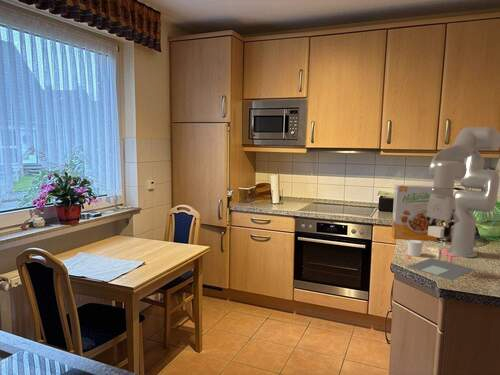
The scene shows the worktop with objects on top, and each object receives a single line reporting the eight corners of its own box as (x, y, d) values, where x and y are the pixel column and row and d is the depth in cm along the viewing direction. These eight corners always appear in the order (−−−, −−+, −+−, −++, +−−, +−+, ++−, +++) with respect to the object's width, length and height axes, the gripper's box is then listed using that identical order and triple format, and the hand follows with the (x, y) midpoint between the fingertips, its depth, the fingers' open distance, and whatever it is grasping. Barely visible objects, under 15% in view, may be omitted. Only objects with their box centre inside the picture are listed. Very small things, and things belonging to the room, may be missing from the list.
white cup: (403, 253, 182) (404, 239, 181) (417, 253, 183) (418, 239, 182) (410, 257, 176) (411, 243, 175) (424, 257, 176) (425, 243, 175)
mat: (431, 258, 174) (431, 257, 174) (475, 270, 159) (475, 269, 159) (406, 267, 162) (406, 266, 162) (451, 281, 147) (451, 279, 146)
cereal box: (394, 239, 209) (397, 186, 206) (391, 236, 215) (394, 184, 212) (436, 241, 206) (440, 187, 203) (432, 238, 212) (436, 185, 209)
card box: (440, 238, 152) (440, 229, 152) (427, 235, 157) (428, 226, 156) (451, 235, 156) (452, 227, 156) (438, 233, 161) (439, 224, 160)
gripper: (418, 189, 160) (415, 231, 162) (458, 195, 145) (454, 240, 147) (429, 189, 163) (426, 229, 166) (469, 194, 149) (465, 238, 151)
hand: (439, 234), depth 156 cm, fingers closed on card box, 5 cm apart
